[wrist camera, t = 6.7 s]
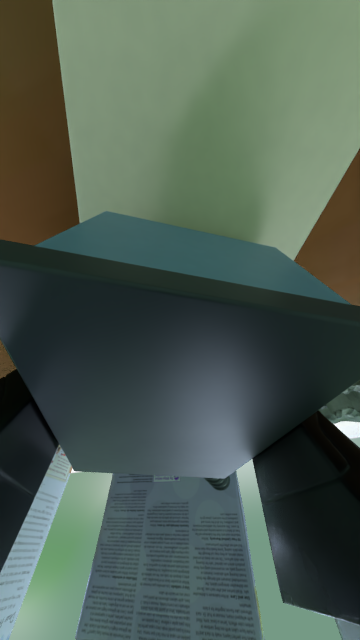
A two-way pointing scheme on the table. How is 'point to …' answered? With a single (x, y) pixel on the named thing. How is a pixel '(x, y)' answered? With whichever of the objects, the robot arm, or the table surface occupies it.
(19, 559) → the cracker box
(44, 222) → the table surface
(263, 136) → the cream lidded box
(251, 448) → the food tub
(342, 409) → the egg carton
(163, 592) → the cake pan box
